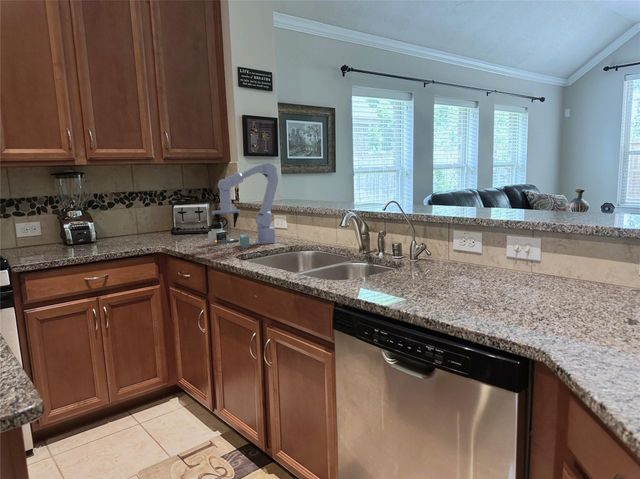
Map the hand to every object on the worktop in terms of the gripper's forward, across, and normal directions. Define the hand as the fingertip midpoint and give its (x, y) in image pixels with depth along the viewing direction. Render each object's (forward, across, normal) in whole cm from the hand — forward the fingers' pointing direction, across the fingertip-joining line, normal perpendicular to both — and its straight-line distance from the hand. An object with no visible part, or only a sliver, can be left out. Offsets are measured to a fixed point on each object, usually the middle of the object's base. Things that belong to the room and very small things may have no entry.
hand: (227, 227), depth 247 cm
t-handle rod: (+8, +1, +2) cm, 9 cm away
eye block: (+10, -8, +2) cm, 14 cm away
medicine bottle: (+11, +5, -12) cm, 17 cm away
